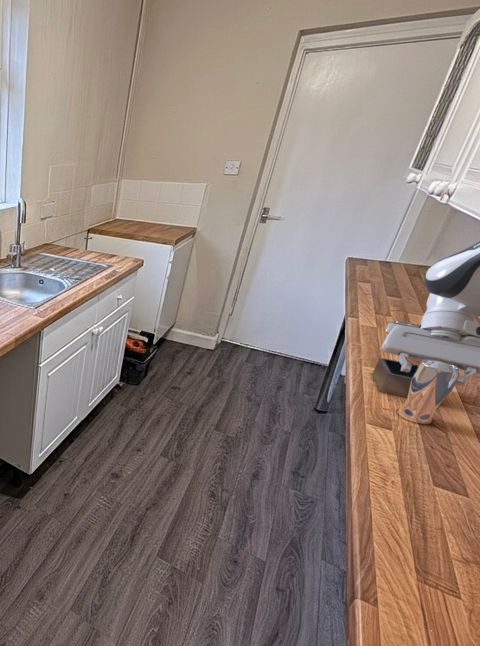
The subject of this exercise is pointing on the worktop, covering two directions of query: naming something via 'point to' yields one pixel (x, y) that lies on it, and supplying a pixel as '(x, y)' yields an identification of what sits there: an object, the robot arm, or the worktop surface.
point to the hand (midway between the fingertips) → (431, 377)
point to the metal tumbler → (428, 390)
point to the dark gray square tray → (393, 377)
